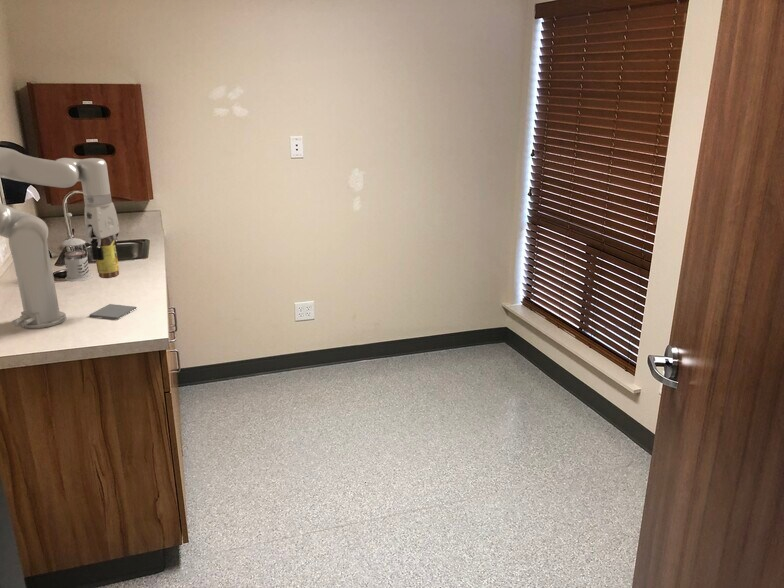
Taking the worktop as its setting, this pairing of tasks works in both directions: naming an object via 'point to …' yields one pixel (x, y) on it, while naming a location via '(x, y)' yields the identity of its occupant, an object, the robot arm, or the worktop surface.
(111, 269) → the sauce bottle
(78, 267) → the french press
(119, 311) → the coaster
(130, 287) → the worktop surface
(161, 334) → the worktop surface
